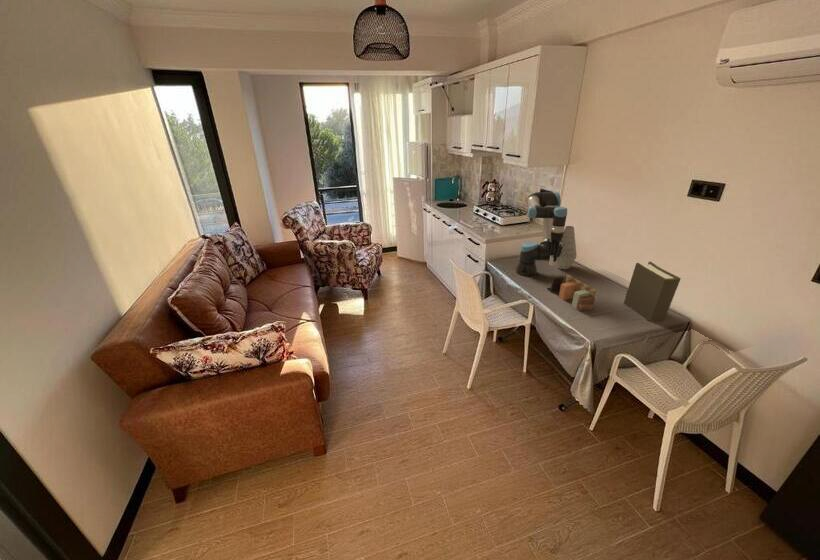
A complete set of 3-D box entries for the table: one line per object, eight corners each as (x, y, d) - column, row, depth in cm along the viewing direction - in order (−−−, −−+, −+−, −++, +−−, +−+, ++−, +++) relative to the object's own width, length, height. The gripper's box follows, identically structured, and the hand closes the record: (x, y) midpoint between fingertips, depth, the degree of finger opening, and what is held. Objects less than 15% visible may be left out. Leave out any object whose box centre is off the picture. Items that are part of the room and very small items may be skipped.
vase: (548, 263, 265) (554, 223, 250) (569, 262, 264) (576, 223, 250) (555, 271, 250) (562, 230, 235) (577, 271, 249) (586, 229, 235)
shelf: (551, 293, 220) (554, 277, 215) (564, 290, 223) (567, 274, 218) (579, 311, 198) (583, 294, 193) (594, 308, 201) (598, 291, 196)
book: (665, 321, 187) (682, 277, 174) (650, 323, 186) (666, 279, 173) (637, 302, 206) (650, 261, 193) (623, 303, 205) (636, 262, 192)
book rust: (558, 297, 215) (561, 283, 211) (568, 295, 217) (571, 281, 213) (562, 300, 211) (565, 286, 207) (573, 298, 213) (576, 284, 209)
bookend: (546, 288, 226) (548, 275, 221) (556, 286, 228) (558, 273, 223) (551, 292, 221) (553, 278, 217) (561, 290, 223) (563, 276, 219)
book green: (571, 305, 205) (574, 291, 201) (582, 303, 207) (585, 289, 203) (576, 308, 202) (579, 294, 197) (586, 306, 204) (590, 292, 199)
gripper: (545, 229, 217) (540, 261, 227) (560, 235, 205) (554, 269, 215) (554, 227, 219) (549, 260, 229) (570, 233, 206) (564, 268, 217)
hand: (551, 264), depth 222 cm, fingers closed
